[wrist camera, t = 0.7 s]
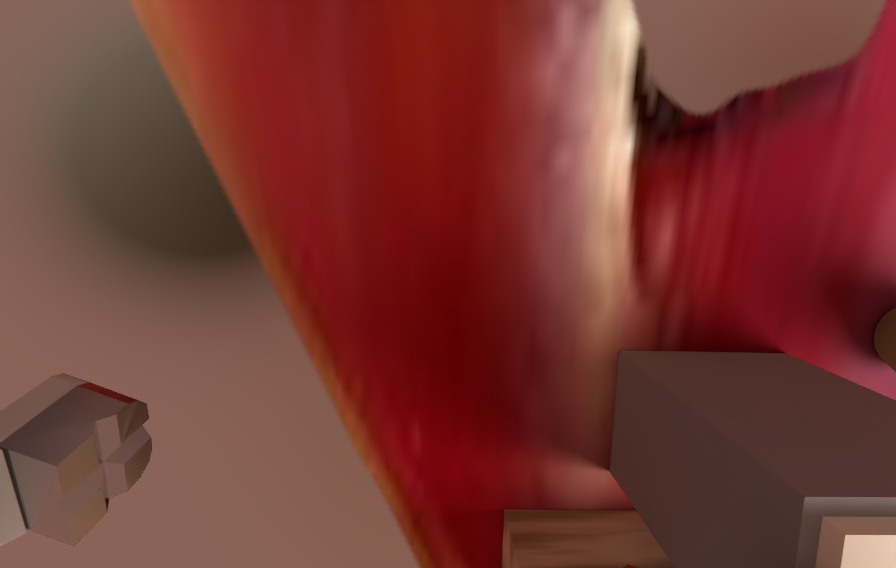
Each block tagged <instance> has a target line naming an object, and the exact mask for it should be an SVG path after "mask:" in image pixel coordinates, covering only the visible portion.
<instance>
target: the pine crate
mask: <svg viewBox="0 0 896 568" xmlns="http://www.w3.org/2000/svg"><path fill="white" fill-rule="evenodd" d="M627 564H628V565H631V566H634V567H637V568H674V566H673V565H672V563H671V562H670V560H669V559H668V557H667V556H666V554H665V553H664V551H663V550H662V548H661V547H660V545H659V544H658V542H657V541H656V539H655V538H654V536H653V535H652V533H651V532H650V530H649V529H648V527H647V526H646V524H645V523H644V521H643V520H642V519H641V517H640V516H639V514H638V513H637V511H636V510H544V509H504V530H503V550H502V568H623V567H624V566H626V565H627Z"/></svg>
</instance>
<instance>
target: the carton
mask: <svg viewBox="0 0 896 568" xmlns="http://www.w3.org/2000/svg"><path fill="white" fill-rule="evenodd" d="M610 472H611V474H612V475H613V477H614V478H615V480H616V481H617V483H618V484H619V486H620V487H621V489H622V490H623V492H624V493H625V495H626V496H627V498H628V499H629V501H630V502H631V504H632V505H633V507H634V508H635V510H636V511H637V513H638V514H639V516H640V517H641V519H642V520H643V521H644V523H645V524H646V526H647V527H648V529H649V530H650V532H651V533H652V535H653V536H654V538H655V539H656V541H657V542H658V544H659V545H660V547H661V548H662V550H663V551H664V553H665V554H666V556H667V557H668V559H669V560H670V562H671V563H672V565H673V566H674V568H815V566H816V559H817V552H818V544H819V537H820V530H821V523H822V516H831V517H896V401H895V400H893V399H891V398H889V397H886V396H884V395H882V394H879V393H877V392H875V391H872V390H870V389H868V388H865V387H863V386H861V385H858V384H856V383H854V382H852V381H849V380H847V379H845V378H842V377H840V376H838V375H835V374H833V373H831V372H828V371H826V370H824V369H822V368H819V367H817V366H815V365H812V364H810V363H808V362H805V361H803V360H801V359H798V358H796V357H794V356H791V355H789V354H787V353H743V352H688V351H633V350H619V358H618V371H617V384H616V396H615V409H614V422H613V435H612V448H611V461H610Z"/></svg>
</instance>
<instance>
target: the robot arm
mask: <svg viewBox="0 0 896 568" xmlns="http://www.w3.org/2000/svg"><path fill="white" fill-rule="evenodd" d="M148 419H149V415H148V409H147V404H146V403H144V402H141V401H138V400H136V399H133V398H131V397H128V396H125V395H122V394H120V393H117V392H114V391H112V390H109V389H106V388H104V387H100V386H98V385H95V384H93V383H90V382H87V381H84V380H81V379H79V378H76V377H73V376H70V375H67V374H64V373H63V374H59V375H55V376H51V377H50V378H48V379H47V380H45V381H44V382H43V383H41V384H40V385H38V386H37V387H35V388H34V389H33V390H31V391H29V392H28V393H27V394H25V395H24V396H22V397H21V398H19V399H18V400H16V401H15V402H13V403H12V404H10V405H9V406H8V407H6V408H5V409H3V410H2V411H0V546H2V545H4V544H6V543H7V542H9V541H11V540H13V539H15V538H17V537H19V536H21V535H23V534H25V533H26V532H27V531H26V530H29V531H33V532H35V533H38V534H41V535H44V536H47V537H50V538H53V539H56V540H59V541H61V542H65V543H67V544H70V545H73V546H75V545H76V544H77V543H78V542H79V541H80V540H81V539H82V538H83V537H84V536H85V535H86V534H87V533H88V532H89V531H90V530H91V529H92V527H94V525H95V524H96V523H97V522H98V521H99V520H100V519H101V518H102V517H103V516H104V515H105V514H106V513H107V510H108V503H109V499H110V498H112V497H114V496H117V495H119V494H122V493H124V492H126V491H128V490H129V489H130V488H131V487H132V486H133V485H134V484H135V483H136V481H137V480H138V479H139V478H140V477H141V475H142V473H143V471H144V470H145V468H146V466H147V464H148V462H149V460H150V456H151V451H152V441H151V437H150V435H149V434H148V433H147V431H146V430H145V428H144V427H143V426H142V425H143V424H144V423H145V421H147V420H148ZM623 568H637V567H634V566H631V565H628V564H627V565H626V566H624V567H623Z"/></svg>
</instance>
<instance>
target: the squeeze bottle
mask: <svg viewBox="0 0 896 568" xmlns="http://www.w3.org/2000/svg"><path fill="white" fill-rule="evenodd" d="M873 337H874V346H875V349H876V351H877V353H878V355H879V356H880V358H881V359H882V360H883V361H885V362H886V363H887V364H888V365H889V366H890V367H891V368H892V369H893V370H894V371H895V372H896V307H895V308H893V309H892V310H890V311H889V312H887V313H886V314H884V316H883V317H882V318H881V320H880V321H879V322H878V324H877V326H876V329H875V333H874V336H873Z"/></svg>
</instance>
